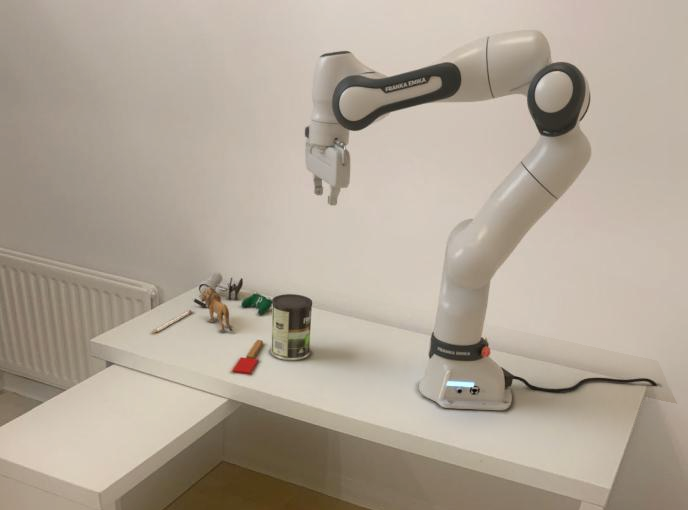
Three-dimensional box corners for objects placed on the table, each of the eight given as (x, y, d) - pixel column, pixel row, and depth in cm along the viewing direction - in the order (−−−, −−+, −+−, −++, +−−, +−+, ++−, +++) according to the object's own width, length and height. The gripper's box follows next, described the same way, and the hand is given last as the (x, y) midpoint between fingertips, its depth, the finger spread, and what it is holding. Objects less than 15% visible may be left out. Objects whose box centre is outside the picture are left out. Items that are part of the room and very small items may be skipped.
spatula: (268, 345, 201) (268, 341, 201) (250, 374, 186) (250, 370, 185) (251, 343, 202) (251, 338, 201) (232, 372, 187) (232, 367, 186)
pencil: (191, 312, 218) (191, 310, 217) (154, 334, 204) (154, 331, 204) (189, 312, 218) (189, 310, 218) (152, 333, 204) (151, 331, 204)
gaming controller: (266, 320, 221) (277, 303, 221) (259, 313, 217) (270, 296, 218) (246, 310, 226) (257, 294, 226) (239, 304, 223) (250, 287, 223)
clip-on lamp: (221, 320, 222) (246, 289, 233) (220, 302, 217) (246, 271, 228) (185, 310, 224) (211, 280, 235) (184, 291, 219) (211, 261, 230)
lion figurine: (197, 317, 215) (196, 287, 210) (213, 314, 218) (213, 283, 212) (225, 335, 206) (224, 303, 200) (241, 331, 208) (241, 299, 203)
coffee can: (312, 347, 201) (315, 296, 193) (305, 362, 193) (308, 310, 185) (275, 342, 203) (277, 291, 195) (266, 357, 195) (267, 305, 186)
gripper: (360, 143, 161) (353, 210, 169) (327, 126, 177) (322, 189, 185) (332, 143, 159) (327, 211, 167) (301, 126, 175) (298, 189, 183)
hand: (325, 199), depth 176 cm, fingers open, 8 cm apart
